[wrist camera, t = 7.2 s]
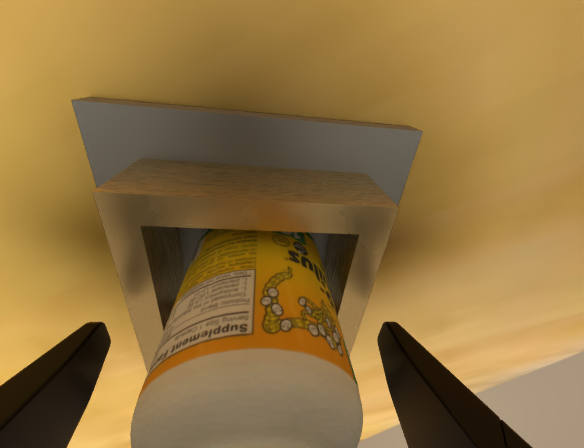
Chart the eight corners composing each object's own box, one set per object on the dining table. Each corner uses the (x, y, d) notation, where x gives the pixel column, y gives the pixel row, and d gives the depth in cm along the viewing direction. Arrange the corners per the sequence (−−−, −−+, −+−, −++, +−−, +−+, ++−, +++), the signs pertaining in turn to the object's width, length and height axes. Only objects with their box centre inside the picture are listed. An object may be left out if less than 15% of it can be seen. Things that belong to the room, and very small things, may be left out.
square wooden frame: (366, 173, 10) (398, 207, 8) (330, 319, 15) (343, 372, 12) (139, 158, 10) (92, 191, 7) (171, 319, 14) (149, 377, 11)
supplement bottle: (173, 230, 11) (-97, 699, 3) (291, 182, 10) (383, 611, 2) (235, 310, 14) (187, 671, 6) (332, 275, 13) (442, 627, 5)
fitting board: (410, 126, 11) (422, 131, 10) (328, 393, 21) (331, 407, 20) (89, 97, 9) (71, 100, 8) (168, 399, 19) (163, 414, 18)
